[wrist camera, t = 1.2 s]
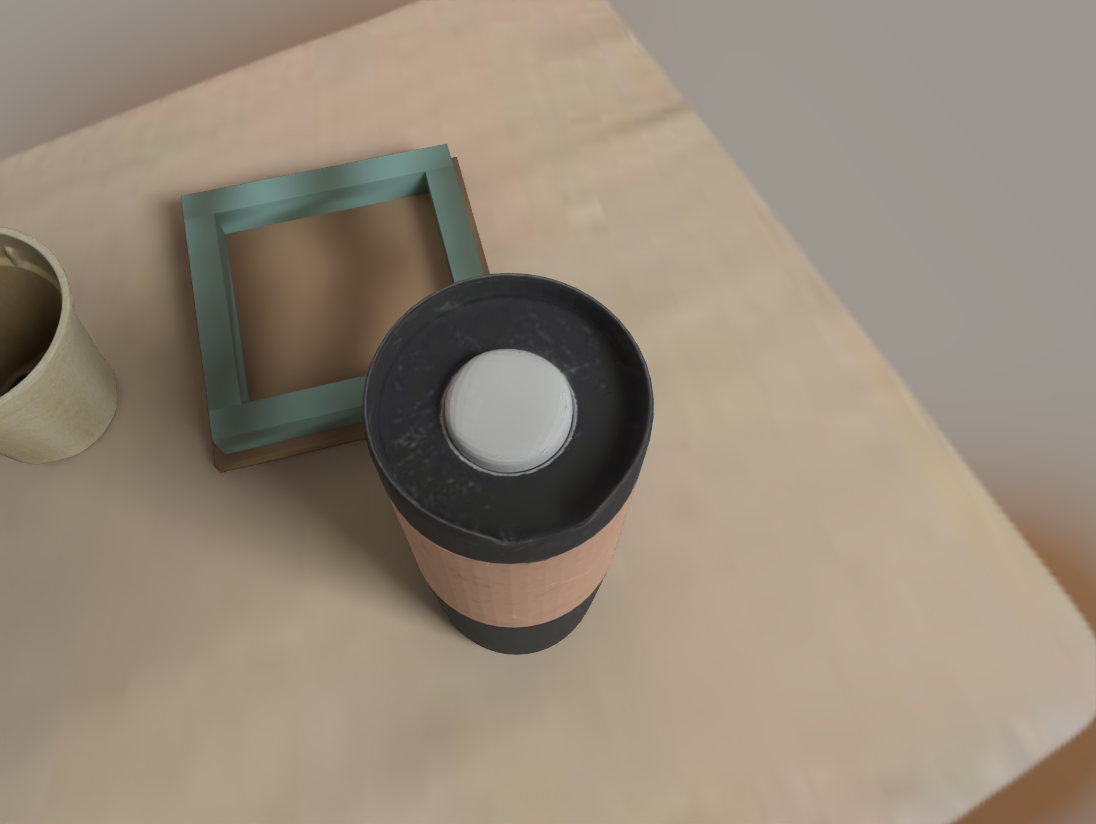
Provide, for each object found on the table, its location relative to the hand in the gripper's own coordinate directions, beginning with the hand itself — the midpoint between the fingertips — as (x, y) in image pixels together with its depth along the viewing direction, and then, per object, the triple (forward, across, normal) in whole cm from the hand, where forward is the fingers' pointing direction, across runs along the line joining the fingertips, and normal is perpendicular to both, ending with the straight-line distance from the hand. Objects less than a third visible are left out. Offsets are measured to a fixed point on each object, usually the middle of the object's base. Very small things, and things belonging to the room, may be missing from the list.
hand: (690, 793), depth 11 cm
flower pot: (+37, -20, -2) cm, 42 cm away
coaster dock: (+38, -5, -1) cm, 38 cm away
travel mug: (+27, 0, -12) cm, 30 cm away
